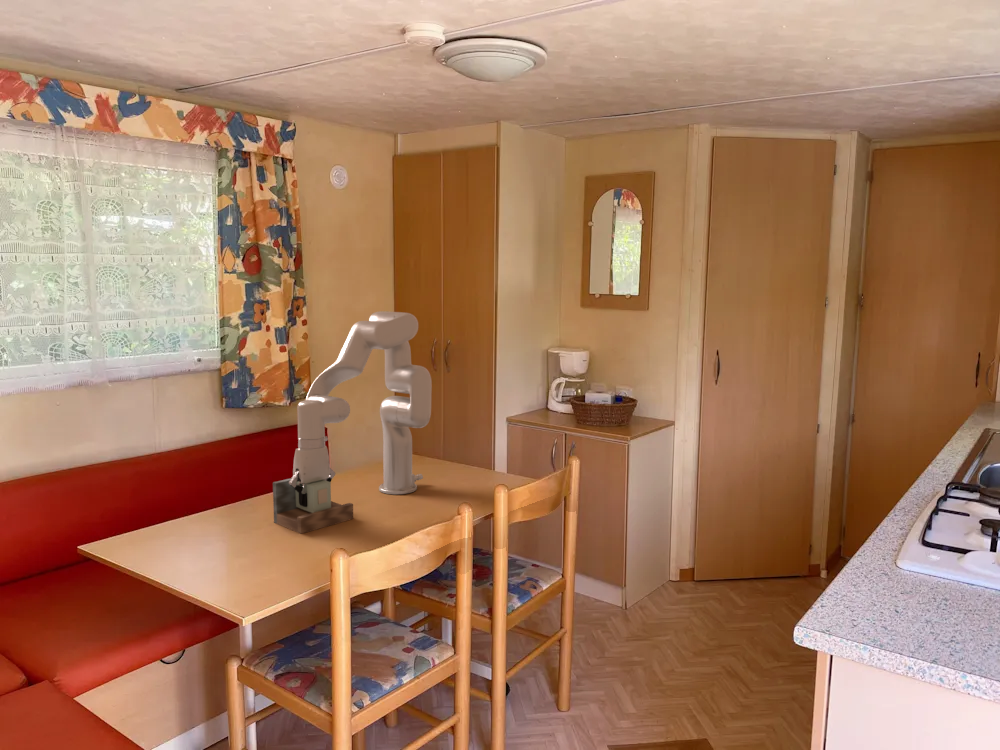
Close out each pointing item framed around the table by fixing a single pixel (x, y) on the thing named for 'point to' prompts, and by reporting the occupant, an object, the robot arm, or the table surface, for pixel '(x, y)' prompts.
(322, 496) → the mini block
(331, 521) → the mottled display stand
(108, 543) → the table surface
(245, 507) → the table surface
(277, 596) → the table surface
